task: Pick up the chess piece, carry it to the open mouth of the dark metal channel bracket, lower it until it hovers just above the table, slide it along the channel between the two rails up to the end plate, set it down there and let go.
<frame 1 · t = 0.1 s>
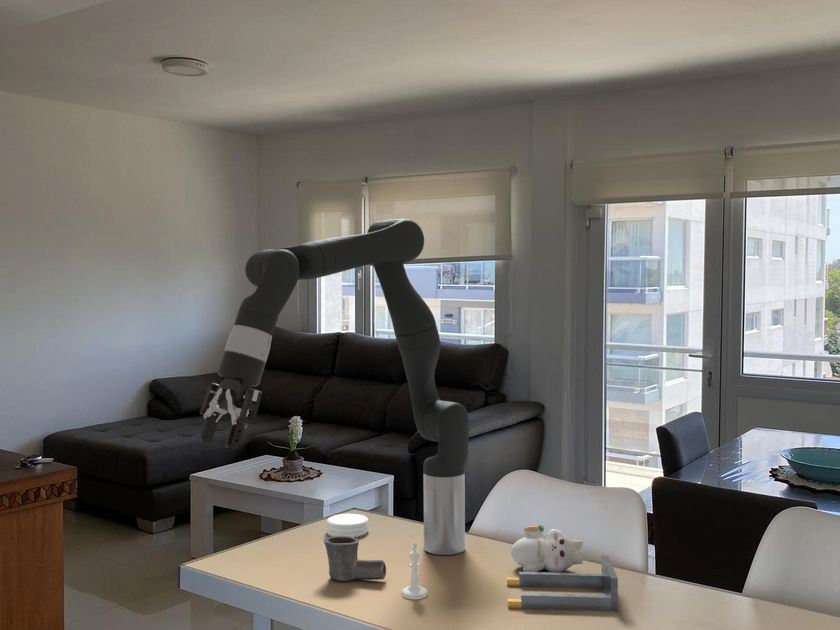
hand: (217, 444, 136), 31 cm above the table, tool tilted 20°, fingers open, 8 cm apart
bracket: (562, 596, 148), on the table
pipe: (354, 580, 158), on the table
round white light: (347, 533, 190), on the table
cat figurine: (547, 571, 163), on the table
chess piece: (414, 595, 150), on the table
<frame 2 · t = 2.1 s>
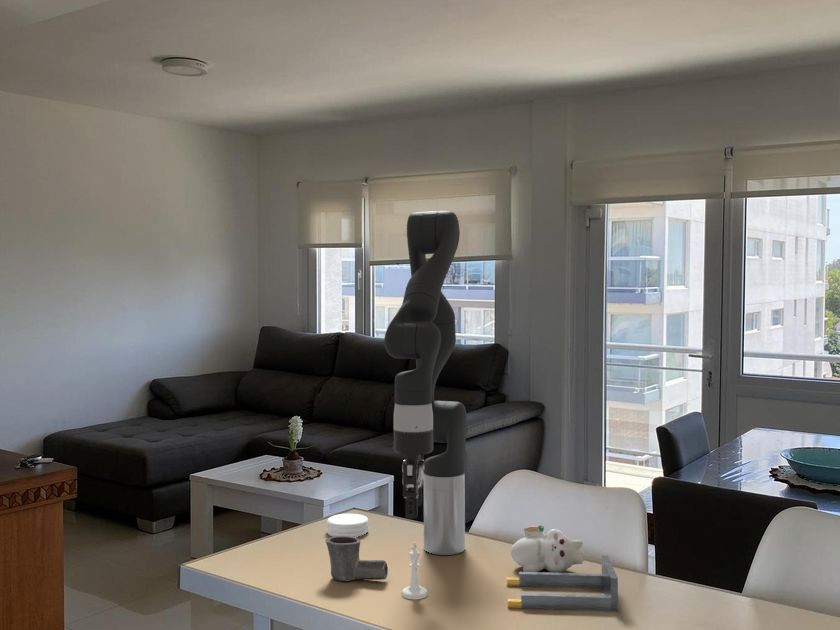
hand: (413, 511, 150), 16 cm above the table, tool pointing down, fingers open, 8 cm apart
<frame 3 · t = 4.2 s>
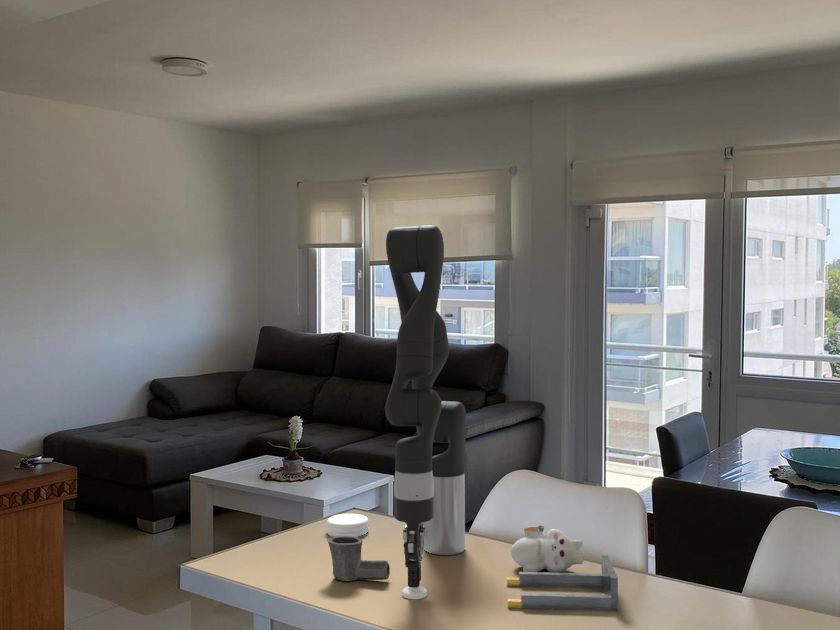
hand: (414, 583, 150), 2 cm above the table, tool pointing down, fingers closed on chess piece
chess piece: (414, 595, 150), on the table, touching gripper
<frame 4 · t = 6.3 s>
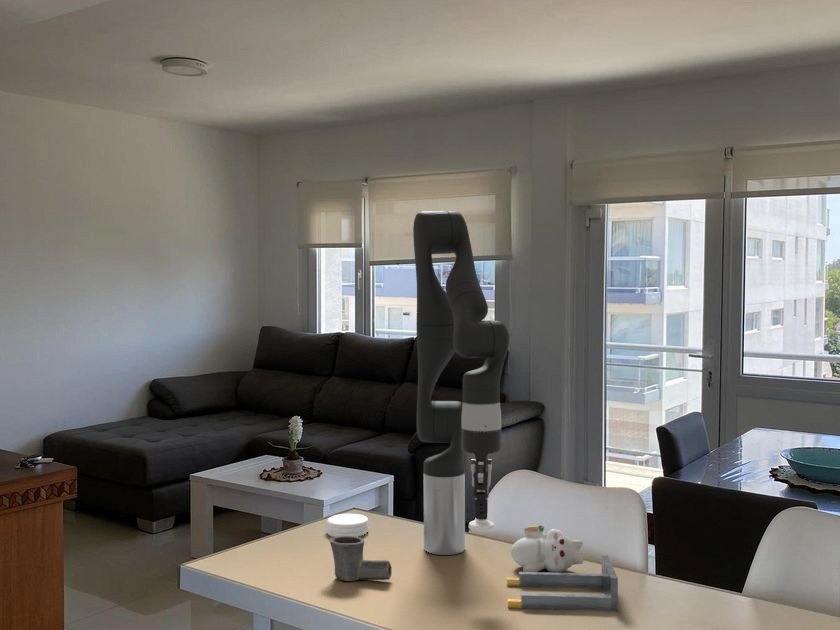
hand: (481, 516, 149), 15 cm above the table, tool pointing down, fingers closed on chess piece
chess piece: (481, 528, 149), point 13 cm above the table, touching gripper
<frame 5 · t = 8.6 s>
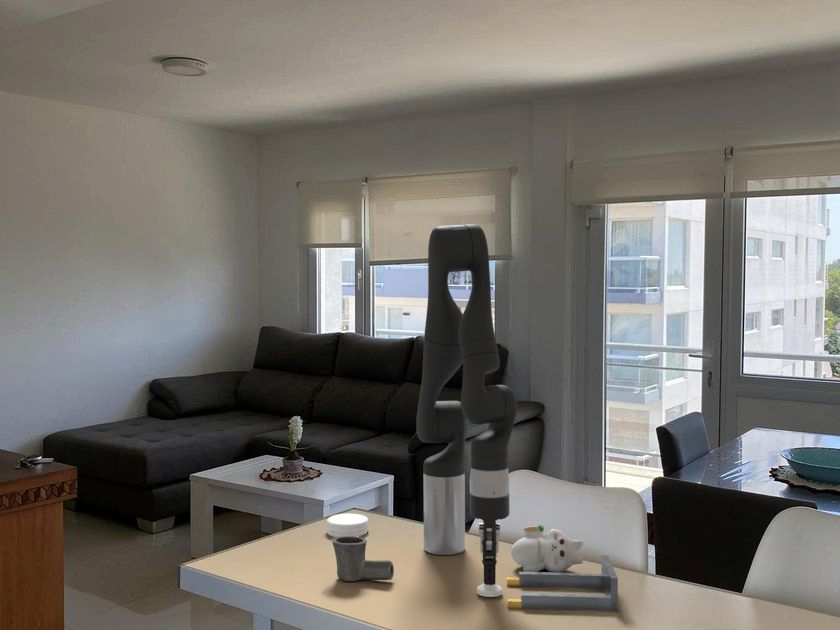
hand: (489, 580, 150), 3 cm above the table, tool pointing down, fingers closed on chess piece
chess piece: (489, 593, 150), on the table, touching gripper
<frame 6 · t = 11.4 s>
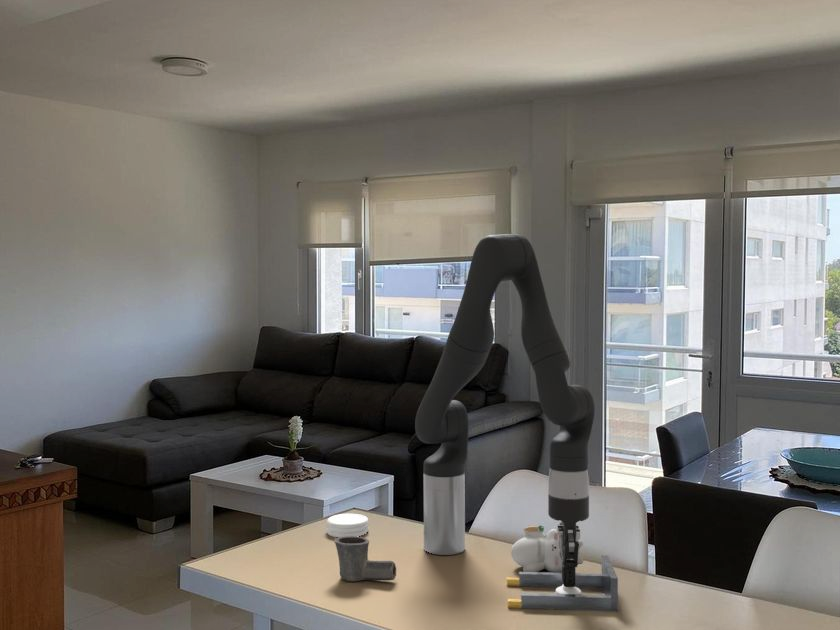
hand: (568, 583, 148), 3 cm above the table, tool pointing down, fingers closed on chess piece
chess piece: (568, 595, 148), on the table, touching gripper
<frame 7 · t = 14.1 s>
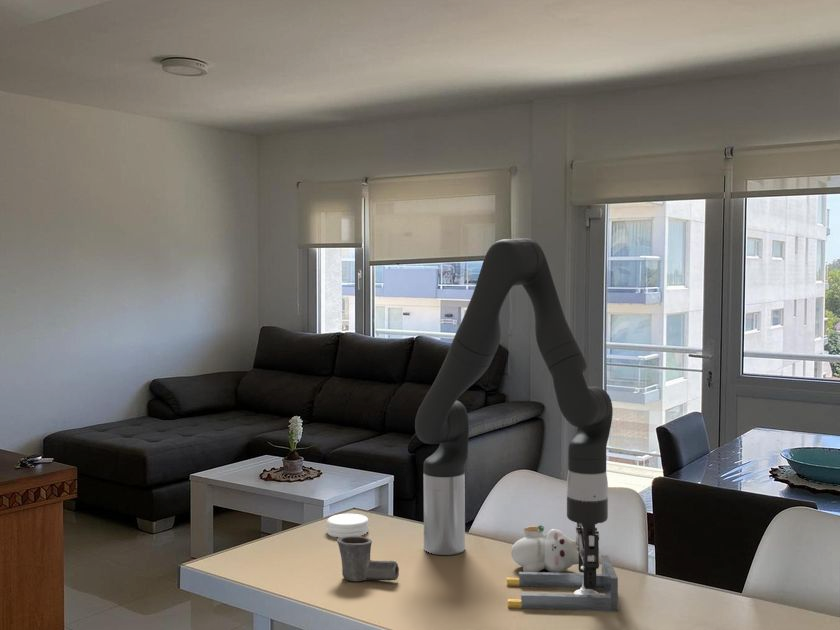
hand: (587, 579, 148), 3 cm above the table, tool pointing down, fingers open, 8 cm apart
chess piece: (586, 598, 148), on the table
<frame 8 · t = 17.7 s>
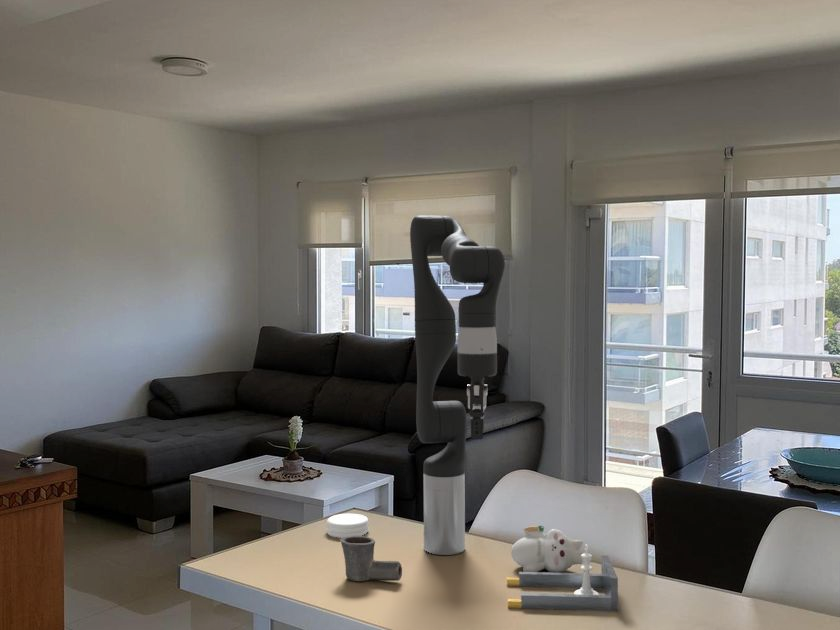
hand: (477, 435, 151), 30 cm above the table, tool pointing down, fingers open, 8 cm apart
at the end: chess piece inside the target area on the bracket (0.9 cm from its centre), point 0.0 cm above the bracket's base; chess piece tilted 0°; the gripper is holding nothing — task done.
